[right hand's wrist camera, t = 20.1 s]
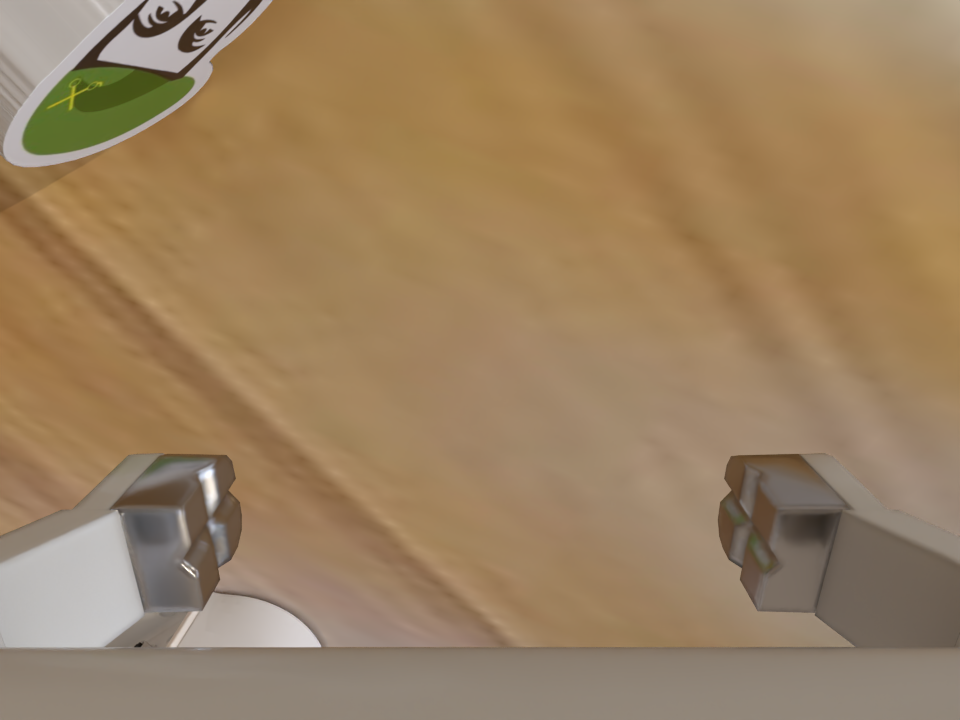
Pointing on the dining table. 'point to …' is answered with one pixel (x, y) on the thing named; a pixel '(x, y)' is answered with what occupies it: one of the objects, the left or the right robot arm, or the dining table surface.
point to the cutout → (103, 69)
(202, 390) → the dining table surface
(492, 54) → the dining table surface
